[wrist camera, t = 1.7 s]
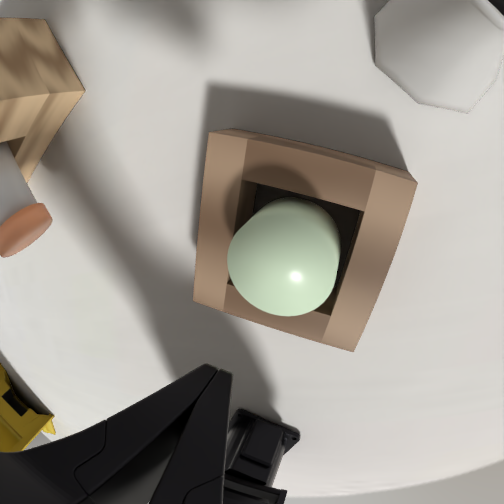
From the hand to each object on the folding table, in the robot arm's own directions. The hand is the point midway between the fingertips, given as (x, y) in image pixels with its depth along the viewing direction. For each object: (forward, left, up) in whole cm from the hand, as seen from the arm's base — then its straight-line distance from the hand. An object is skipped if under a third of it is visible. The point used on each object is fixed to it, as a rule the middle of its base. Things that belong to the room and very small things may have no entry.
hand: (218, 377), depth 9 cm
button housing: (0, 0, -12) cm, 12 cm away
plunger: (-3, +20, -8) cm, 22 cm away
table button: (0, 0, -10) cm, 10 cm away
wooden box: (+1, +26, -12) cm, 29 cm away
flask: (+13, -3, -12) cm, 18 cm away
